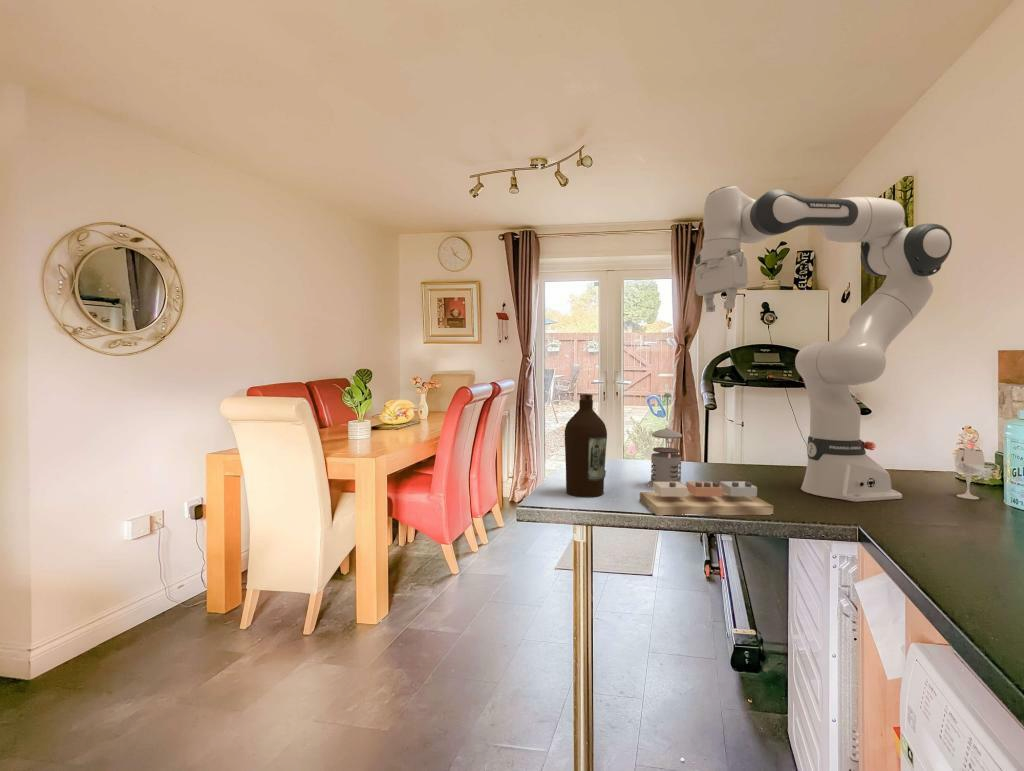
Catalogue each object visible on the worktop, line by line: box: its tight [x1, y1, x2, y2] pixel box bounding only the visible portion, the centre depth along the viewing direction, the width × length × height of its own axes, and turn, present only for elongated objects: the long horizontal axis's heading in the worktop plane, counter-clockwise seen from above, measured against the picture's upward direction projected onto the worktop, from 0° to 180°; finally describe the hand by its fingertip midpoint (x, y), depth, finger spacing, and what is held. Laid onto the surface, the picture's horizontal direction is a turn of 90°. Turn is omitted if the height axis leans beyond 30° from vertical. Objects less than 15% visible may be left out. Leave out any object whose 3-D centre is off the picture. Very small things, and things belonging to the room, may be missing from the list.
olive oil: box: [564, 393, 608, 498], centre depth 140 cm, size 11×11×25 cm
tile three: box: [685, 481, 723, 496], centre depth 128 cm, size 6×6×3 cm
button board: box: [639, 491, 774, 517], centre depth 128 cm, size 26×13×2 cm, turn 93°
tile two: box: [719, 480, 758, 497], centre depth 128 cm, size 6×6×3 cm
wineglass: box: [954, 447, 986, 500], centre depth 139 cm, size 6×6×12 cm
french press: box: [647, 392, 683, 488], centre depth 150 cm, size 10×12×25 cm
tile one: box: [652, 482, 689, 497], centre depth 127 cm, size 6×6×3 cm
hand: (719, 310), depth 139 cm, fingers open, 8 cm apart
